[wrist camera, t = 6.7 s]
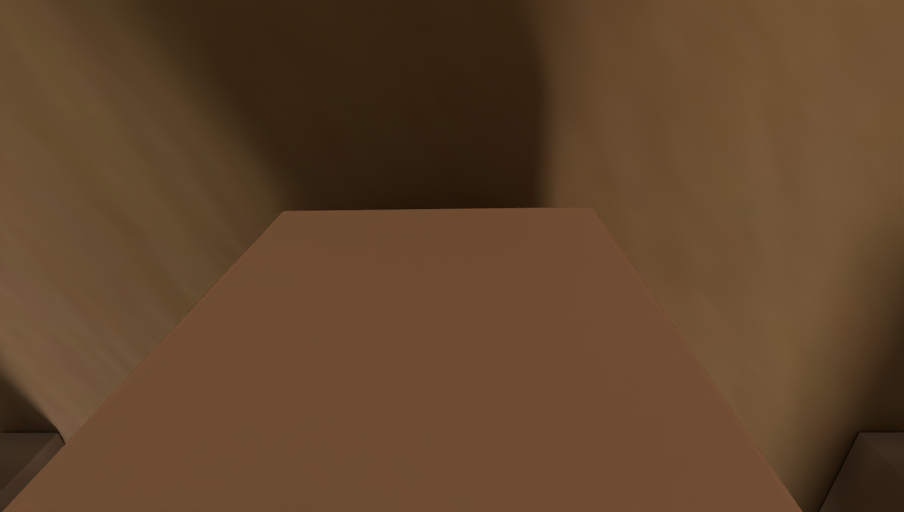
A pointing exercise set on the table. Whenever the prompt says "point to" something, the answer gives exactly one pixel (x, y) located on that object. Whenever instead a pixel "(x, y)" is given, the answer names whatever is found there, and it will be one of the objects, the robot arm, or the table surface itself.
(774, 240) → the table surface
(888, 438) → the walnut pen
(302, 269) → the terracotta block
